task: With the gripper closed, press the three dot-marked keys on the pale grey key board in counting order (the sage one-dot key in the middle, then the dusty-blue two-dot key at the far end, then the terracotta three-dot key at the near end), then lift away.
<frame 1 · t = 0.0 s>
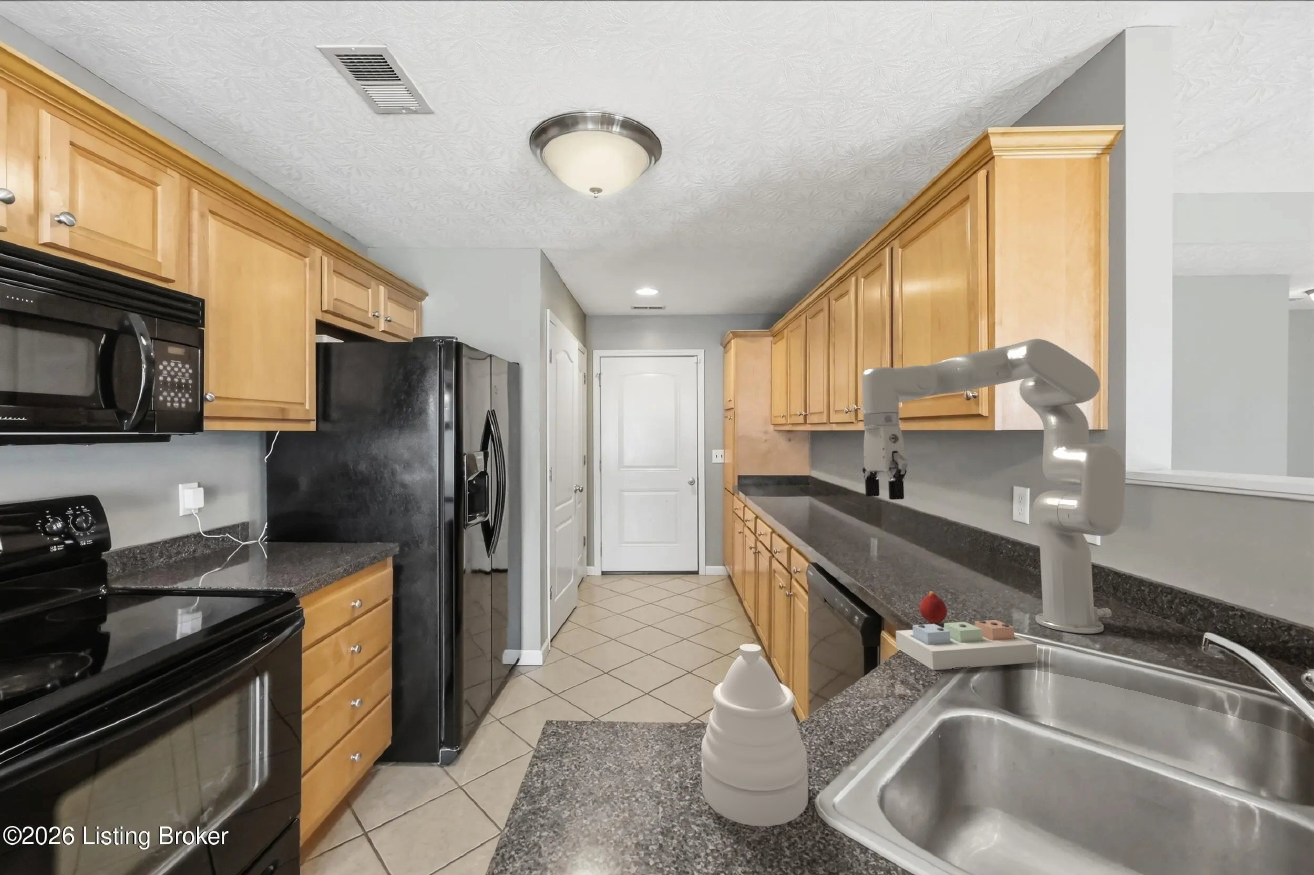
hand: (884, 497, 119), 31 cm above the worktop, tool pointing down, fingers open, 9 cm apart
honey pot: (754, 791, 65), on the worktop
onion: (933, 626, 125), on the worktop
key two: (931, 635, 106), point 4 cm above the worktop, slide at 0.0 cm
key one: (963, 633, 107), point 4 cm above the worktop, slide at 0.0 cm
key board: (963, 654, 107), on the worktop
key three: (994, 631, 108), point 4 cm above the worktop, slide at 0.0 cm
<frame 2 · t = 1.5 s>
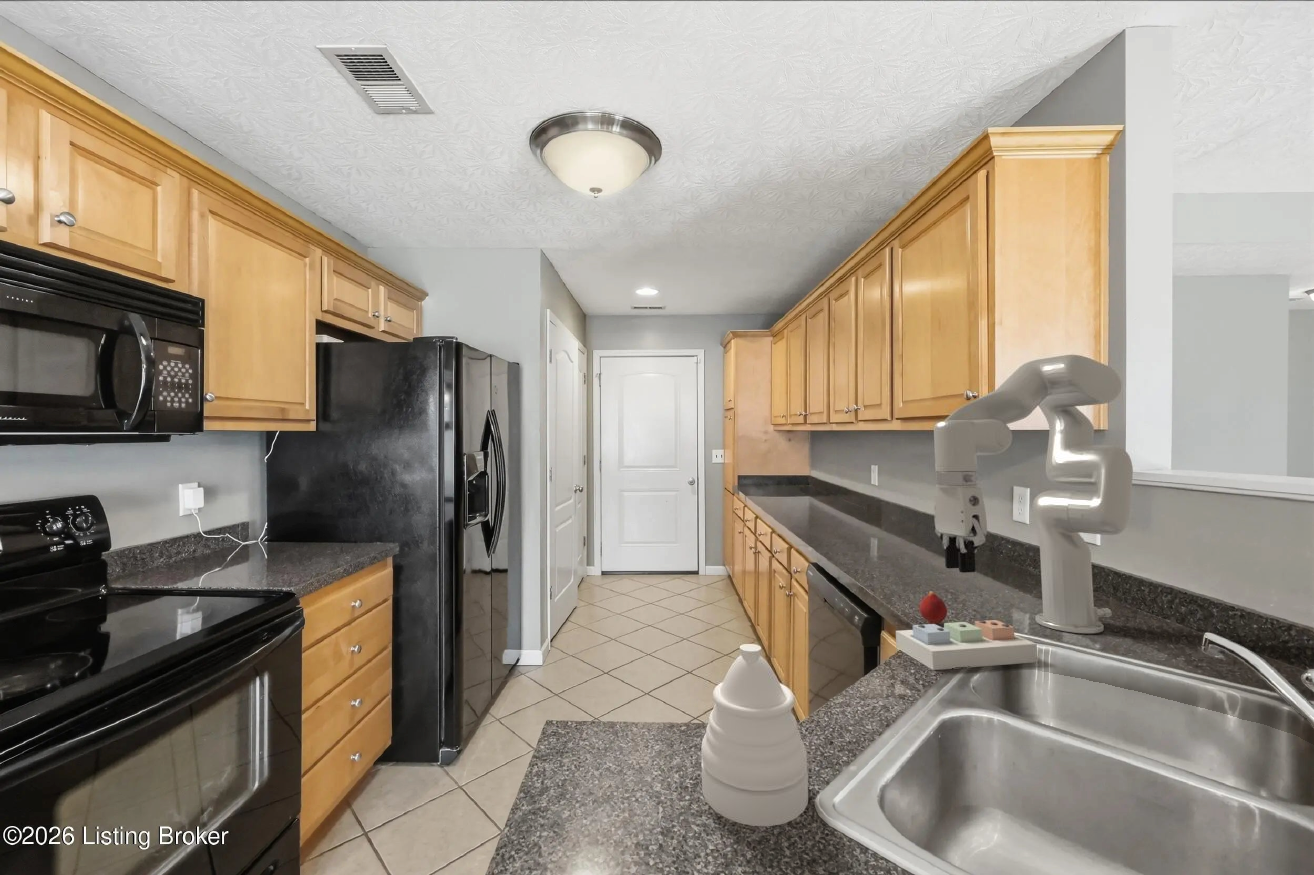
hand: (960, 569, 107), 17 cm above the worktop, tool pointing down, fingers open, 3 cm apart
nothing on the worktop moved.
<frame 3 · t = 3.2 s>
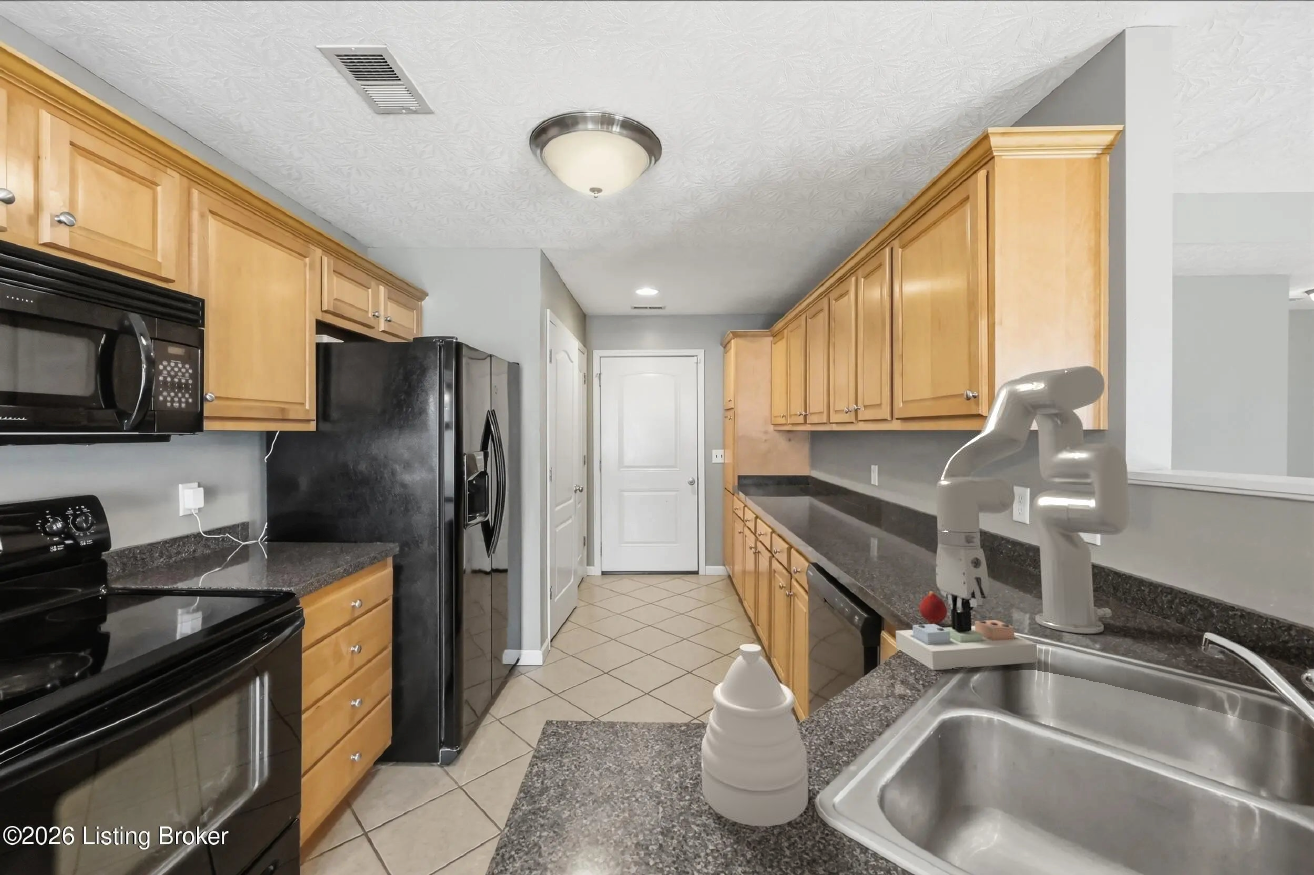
hand: (961, 630, 107), 5 cm above the worktop, tool pointing down, fingers closed
key one: (963, 637, 107), point 3 cm above the worktop, slide at 1.0 cm, touching gripper
everything else where it was.
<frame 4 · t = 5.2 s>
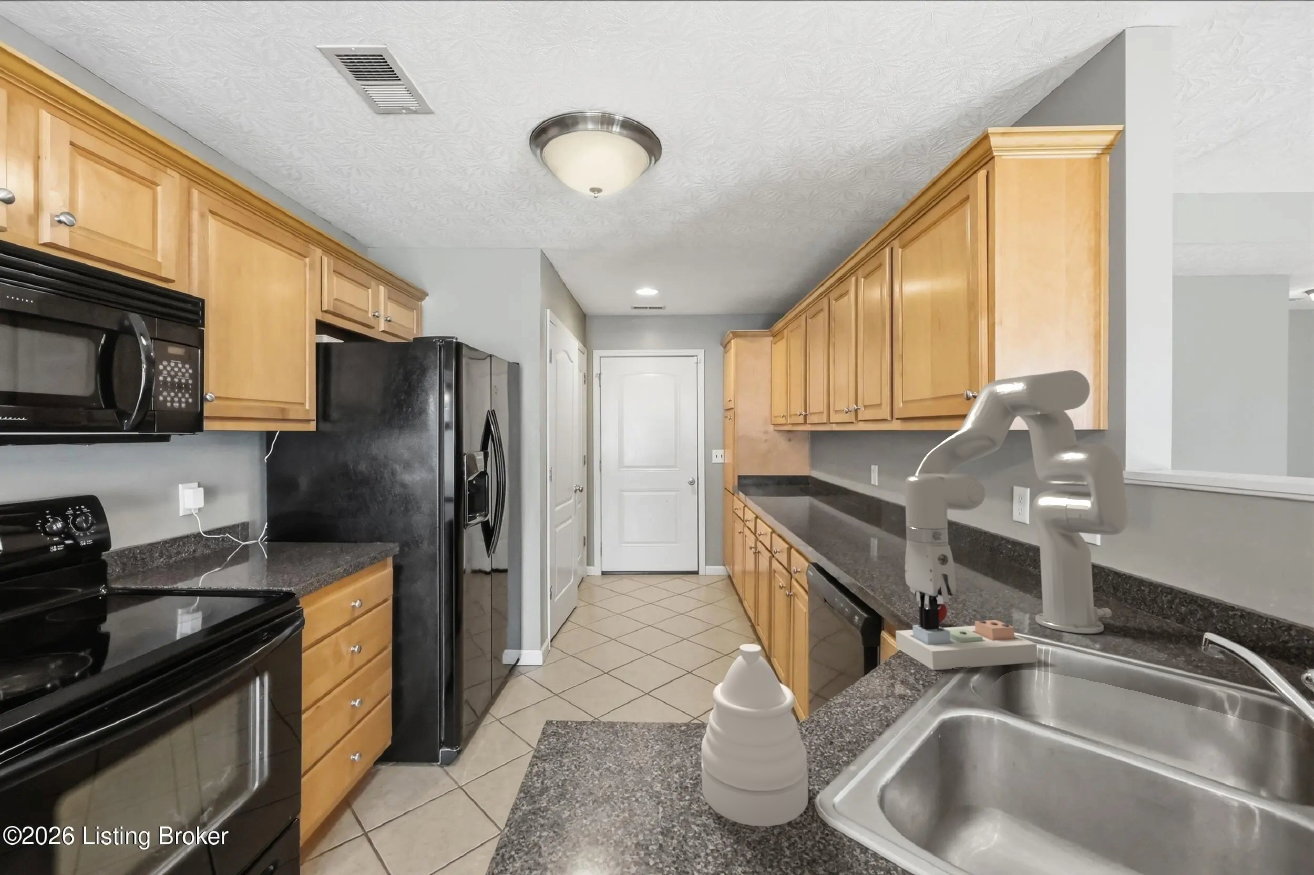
hand: (929, 627, 106), 6 cm above the worktop, tool pointing down, fingers closed
key two: (931, 635, 106), point 4 cm above the worktop, slide at 0.0 cm, touching gripper
key one: (963, 640, 107), point 3 cm above the worktop, slide at 1.4 cm
everything else where it was.
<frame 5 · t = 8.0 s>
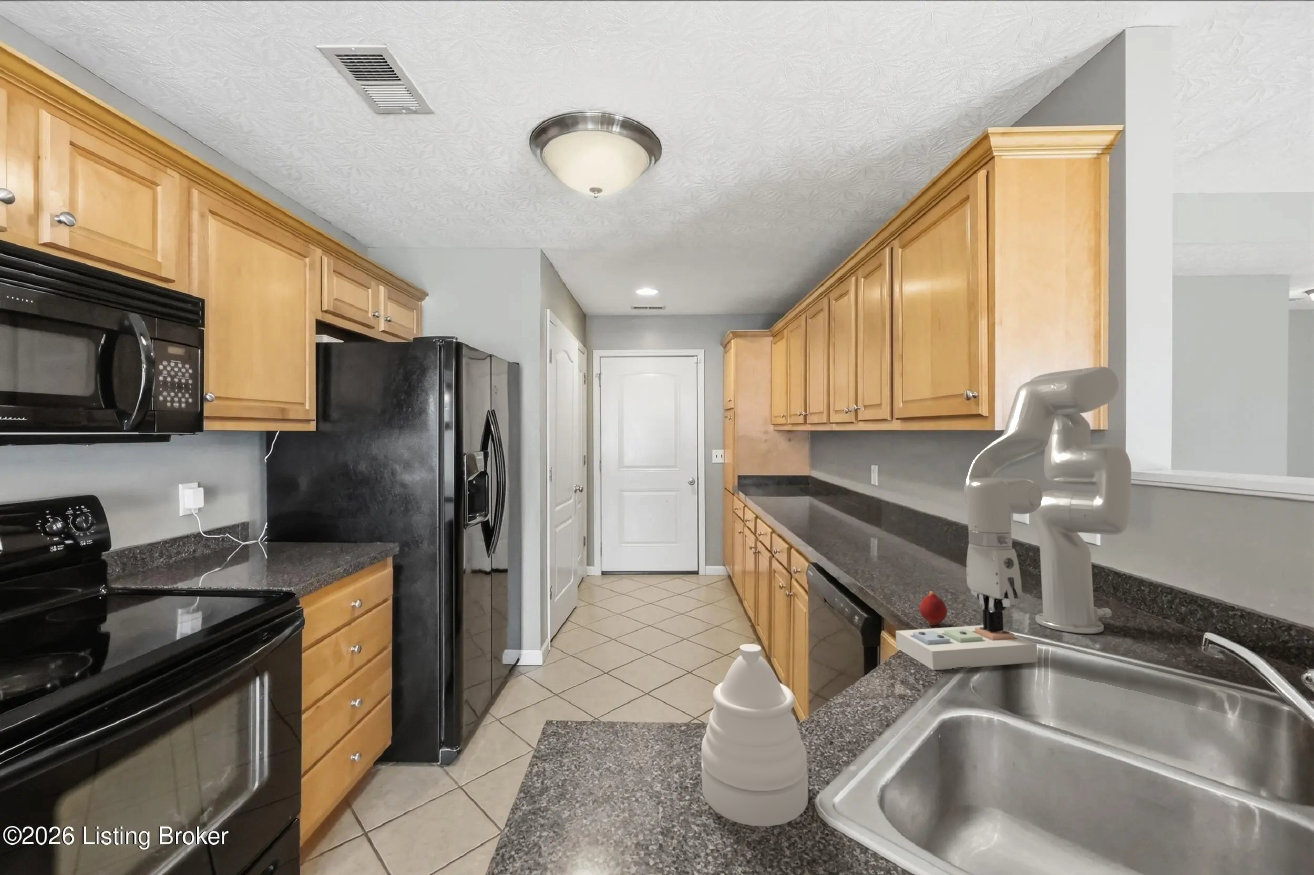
hand: (993, 629, 108), 5 cm above the worktop, tool pointing down, fingers closed
key two: (931, 642, 106), point 3 cm above the worktop, slide at 1.4 cm
key three: (994, 637, 108), point 3 cm above the worktop, slide at 1.3 cm, touching gripper
everything else where it was.
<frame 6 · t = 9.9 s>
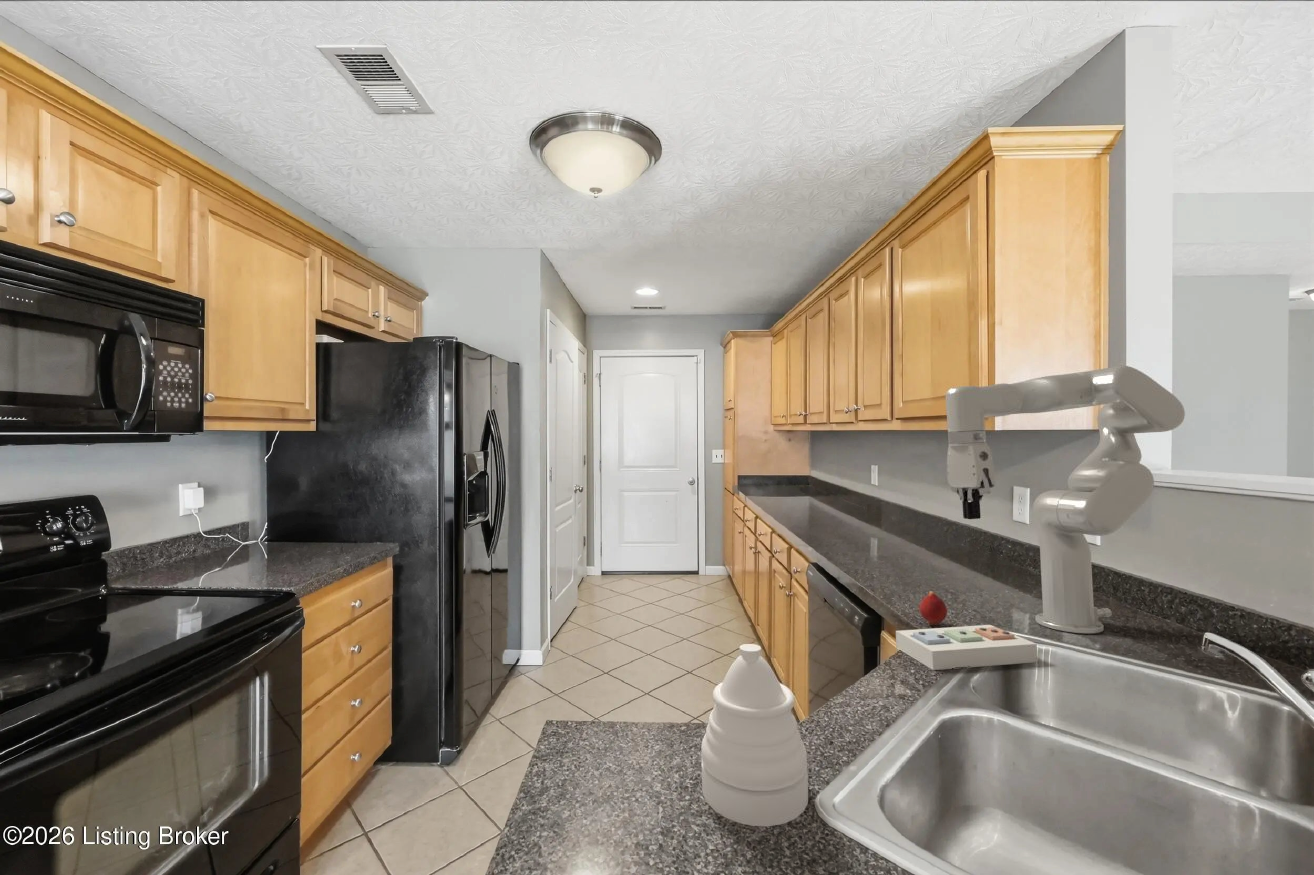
hand: (972, 518, 122), 26 cm above the worktop, tool pointing down, fingers closed
key three: (994, 638, 108), point 3 cm above the worktop, slide at 1.5 cm
everything else where it was.
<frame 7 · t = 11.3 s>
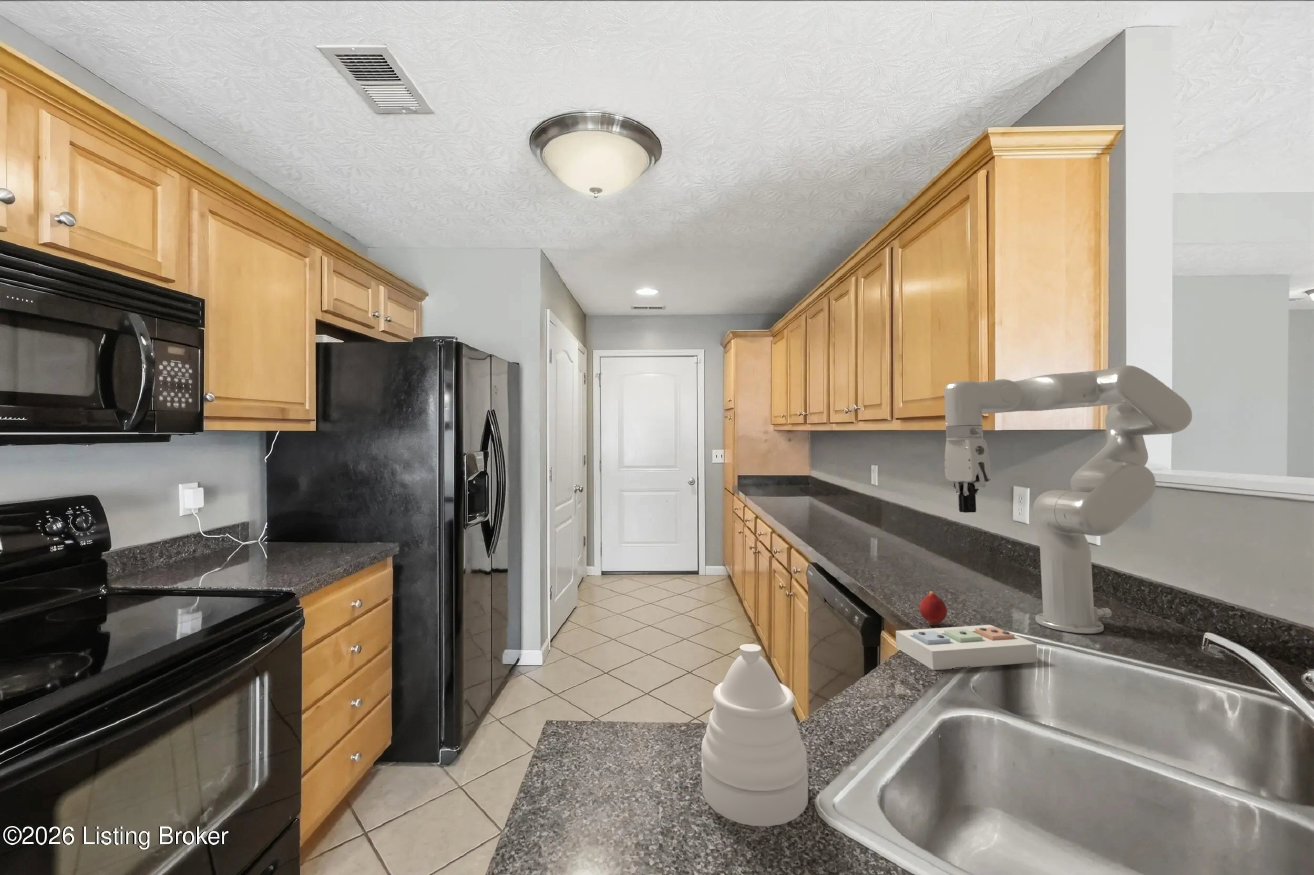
hand: (967, 511, 123), 27 cm above the worktop, tool pointing down, fingers closed
nothing on the worktop moved.
at the end: key one slide at 1.4 cm; key two slide at 1.4 cm; key three slide at 1.5 cm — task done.
